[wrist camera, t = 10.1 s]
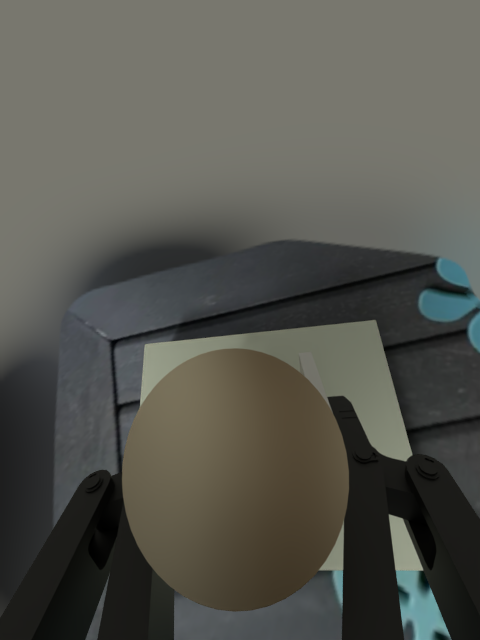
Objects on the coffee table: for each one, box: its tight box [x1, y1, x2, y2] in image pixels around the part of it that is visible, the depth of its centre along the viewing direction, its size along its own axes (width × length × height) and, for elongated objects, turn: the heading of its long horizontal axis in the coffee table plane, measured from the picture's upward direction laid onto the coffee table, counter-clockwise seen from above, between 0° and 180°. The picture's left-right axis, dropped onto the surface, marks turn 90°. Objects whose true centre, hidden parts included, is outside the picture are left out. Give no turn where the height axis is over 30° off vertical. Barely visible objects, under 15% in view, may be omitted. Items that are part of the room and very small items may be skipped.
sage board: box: [140, 320, 423, 570], centre depth 22 cm, size 20×16×4 cm
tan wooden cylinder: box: [122, 348, 349, 611], centre depth 14 cm, size 6×6×15 cm
